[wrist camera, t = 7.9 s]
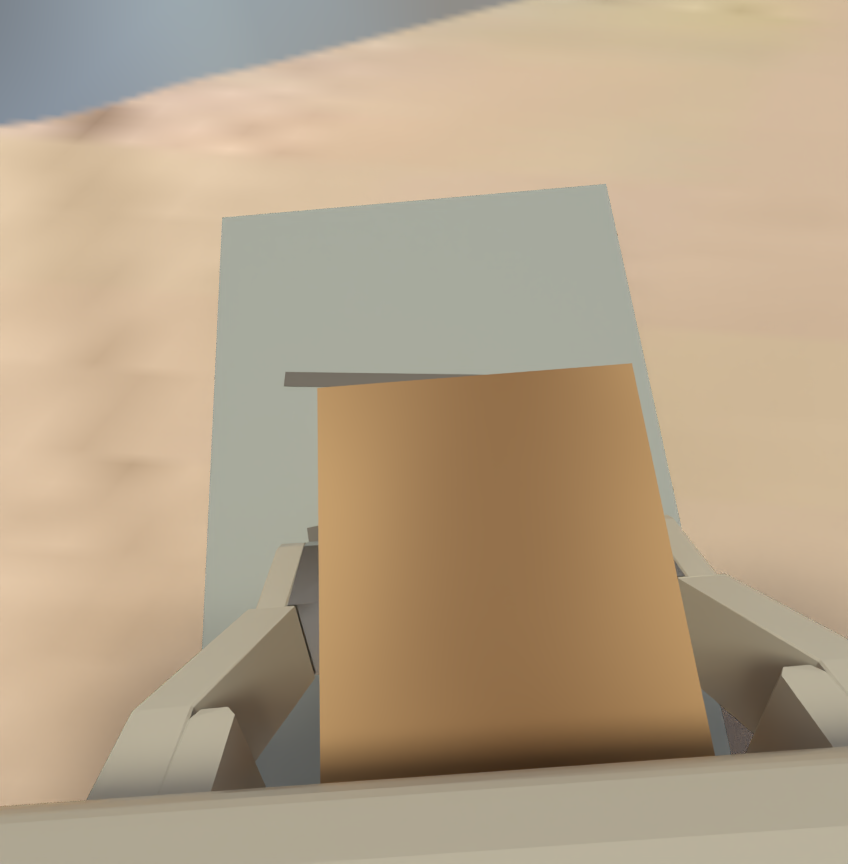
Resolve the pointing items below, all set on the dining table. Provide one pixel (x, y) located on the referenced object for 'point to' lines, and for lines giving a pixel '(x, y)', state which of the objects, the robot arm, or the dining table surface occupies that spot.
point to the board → (390, 360)
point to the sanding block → (497, 580)
